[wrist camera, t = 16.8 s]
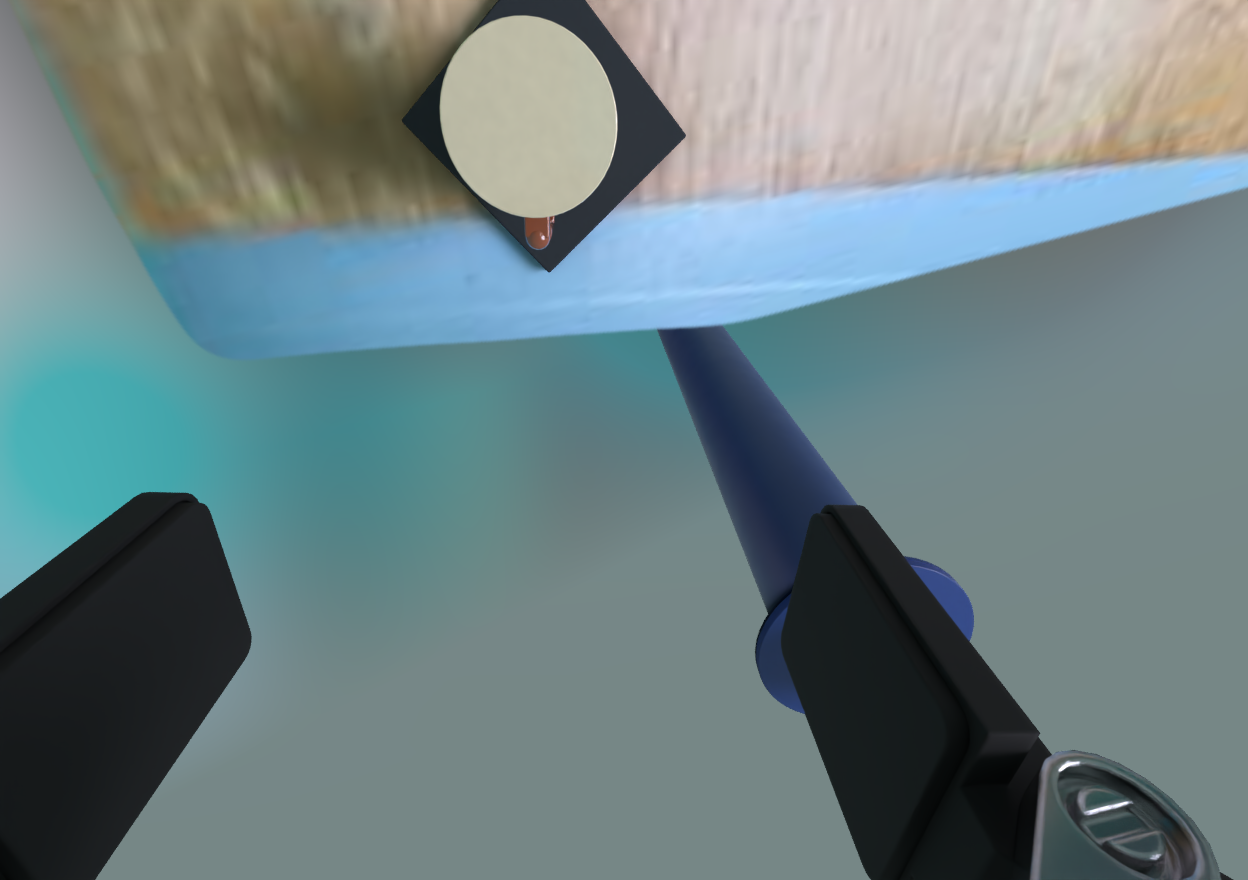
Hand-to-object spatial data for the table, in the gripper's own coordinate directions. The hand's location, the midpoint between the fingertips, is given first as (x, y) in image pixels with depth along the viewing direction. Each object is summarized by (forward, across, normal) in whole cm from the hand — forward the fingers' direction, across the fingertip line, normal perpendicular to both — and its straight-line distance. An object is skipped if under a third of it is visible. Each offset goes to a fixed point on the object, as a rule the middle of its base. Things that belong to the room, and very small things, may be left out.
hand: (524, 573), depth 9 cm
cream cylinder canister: (+25, +1, -7) cm, 26 cm away
